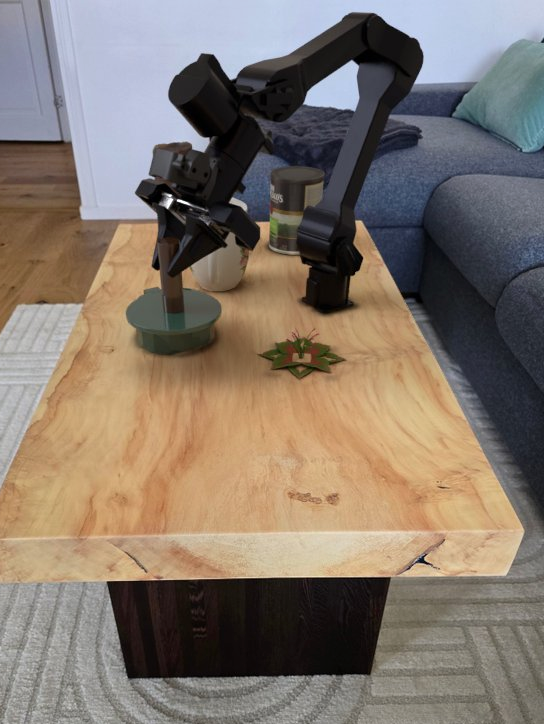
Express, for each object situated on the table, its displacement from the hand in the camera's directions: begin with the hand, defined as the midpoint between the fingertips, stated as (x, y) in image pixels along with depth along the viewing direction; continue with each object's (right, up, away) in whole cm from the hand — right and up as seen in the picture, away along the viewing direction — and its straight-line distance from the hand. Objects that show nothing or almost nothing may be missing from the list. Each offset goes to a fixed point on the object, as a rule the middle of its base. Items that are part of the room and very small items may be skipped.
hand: (161, 272), depth 79 cm
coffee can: (+21, +19, +49) cm, 56 cm away
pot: (0, -5, +17) cm, 17 cm away
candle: (-2, +16, +45) cm, 48 cm away
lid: (+1, -4, +4) cm, 6 cm away
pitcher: (+6, +7, +32) cm, 34 cm away
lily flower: (+19, -10, +10) cm, 23 cm away
